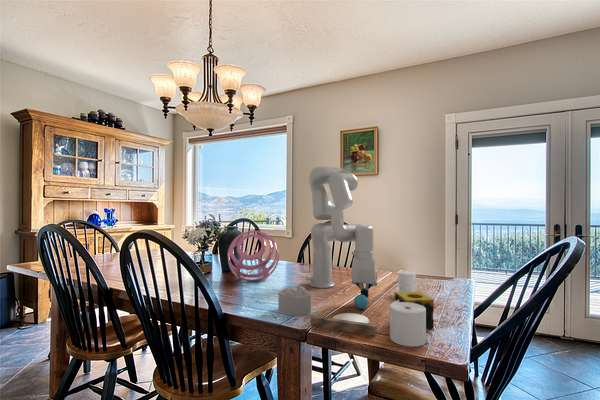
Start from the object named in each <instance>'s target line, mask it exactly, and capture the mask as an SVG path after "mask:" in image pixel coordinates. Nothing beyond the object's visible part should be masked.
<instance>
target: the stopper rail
mask: <svg viewBox="0 0 600 400" xmlns="http://www.w3.org/2000/svg"><path fill="white" fill-rule="evenodd" d="M310 327H315V328H319V329H325V330H326V329H327V330H332V331H340V332H345V333H351V334H357V333H359V334H358V335H363V334H366V335H365V336H369V335H373V336H372V337H376V336H377V333H378V332H377V327H378V326H377V324H373V323H361V322H354V321H347V320H341V319H334V318H333V317H332V318H331V317H325V316H318V315H312V316H311V317H310ZM375 335H376V336H375Z"/></svg>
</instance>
